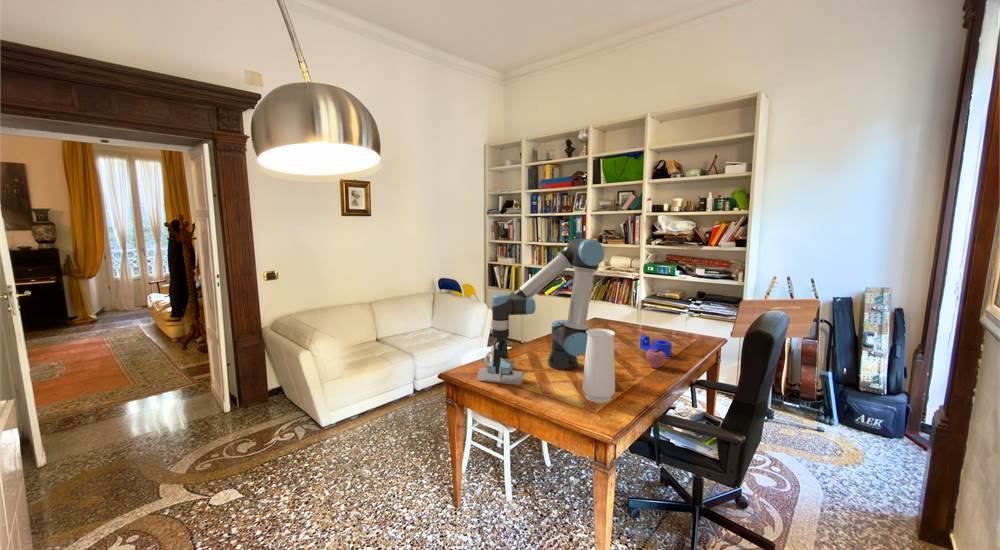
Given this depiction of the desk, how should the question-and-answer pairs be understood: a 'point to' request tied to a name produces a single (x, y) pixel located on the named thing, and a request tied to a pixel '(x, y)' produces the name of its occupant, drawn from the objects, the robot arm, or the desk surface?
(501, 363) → the pale blue memo pad
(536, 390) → the desk surface
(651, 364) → the apple
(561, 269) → the robot arm
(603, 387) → the vase
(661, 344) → the bracket
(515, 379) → the grey block with holes
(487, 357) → the mug
